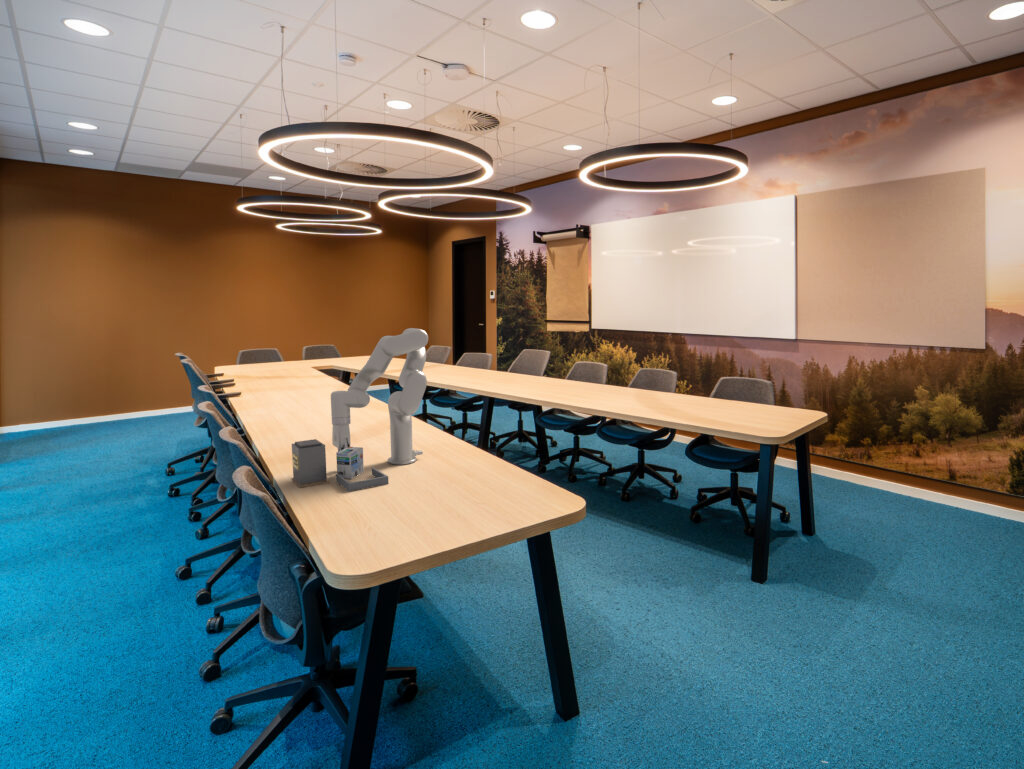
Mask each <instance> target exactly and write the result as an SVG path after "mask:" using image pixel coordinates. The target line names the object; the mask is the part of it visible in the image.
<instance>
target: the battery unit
mask: <svg viewBox="0 0 1024 769" xmlns="http://www.w3.org/2000/svg"><path fill="white" fill-rule="evenodd" d="M326 455H327V454H326V444H324V443H323V442H321V441H319V440H317V439H316V438H314V439H306V440H300V441H294V443H291V458H292V476H293V477H290V478H291V481H292V482H293V483H294V485H296V486H297V487H298V488H299V489H302V488H308V486H309V487H314V486H318V485H324V483H325V484H329V483H330V480H329V479H328V477H327V474H328V473H327V459H326V458H327V457H326Z"/></svg>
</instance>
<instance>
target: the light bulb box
mask: <svg viewBox="0 0 1024 769" xmlns="http://www.w3.org/2000/svg"><path fill="white" fill-rule="evenodd" d="M335 455H336V474H339V475H340V476H341V477H343V478H348V479H347V480H353V479H354V477H355V478H356V477H358V476H360V475H362V474H363V473H364V470H365V469H364V448H363V447H361V446H360V447H359V446H350V447H348V448H345V449H343V450H341V451H339V452H338V451H337V452H336V454H335ZM362 472H363V473H362ZM359 474H360V475H359ZM357 475H358V476H357ZM352 478H353V479H352Z"/></svg>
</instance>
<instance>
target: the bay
mask: <svg viewBox="0 0 1024 769" xmlns="http://www.w3.org/2000/svg"><path fill="white" fill-rule="evenodd" d="M371 476H372V478H369V479H363V480H357V481H352V482H349V480H348V479H344V478H343V477H341V476H340V475H339V474H337V473H336V474H335V482H336V483H337V482H338V483H339V485H340V486H341V485H342V486H343V487H342V486H341V487H342V488H344V489H345V488H346V489H347V490H346V489H345V490H346V491H347V492H353V491H352V490H354V491H358V489H359V490H363V489H362V488H364V489H368V488H367V487H370V488H373V487H372V486H375V487H378V485H380V486H384V485H383V484H385V485H388V484H389V476H388V475H387V474H385V473H384V472H382V471H380V470H378V469H377V468H375V467H371ZM374 476H375V477H374ZM373 477H374V478H373ZM338 483H337V484H338Z"/></svg>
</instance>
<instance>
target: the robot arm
mask: <svg viewBox="0 0 1024 769" xmlns="http://www.w3.org/2000/svg"><path fill="white" fill-rule="evenodd" d="M428 342H429V334H428V333H427V332H426V331H425V330H423V329H421V328H415V327H414V328H413V327H410V328H406V329H404V330H403V331H402V333H401V334H397V335H385V336H382V337H381V338H379V341H378V342H377V344H376V346H375V348H374V349H373V351H372V352H371V355H370V356H369V358H368V360H367V362H366V363H365V365H363V367H362V368H361V369H360V371H359V372H358V373H357V374H356V375H355V377H354V378H353V380H352V381H351V384H350V385H349V387H348V389H347V390H335V391H332V392H331V393H330V410H331V412H330V413H331V425H332V430H331V431H332V432H331V433H332V434H331V435H332V436H331V439H332V440H331V442H332V445H333V446H334V447H336V449H337V452H339V451H341V450H343V449H345V448H348V447H351V431H350V430H351V429H350V425H351V423H352V422H351V409H353V408H354V409H363V408H366V407H367V406H368V405H369V404H370V401H371V399H370V398H371V396H370V395H369V393H368V392H367V391H368V389H369V387H370V386H371V384H372V383H373V382H374V381H376V380H378V379H379V378H381V377H382V376H383V375H384V374H385V372H386V371H387V369H388V367H389V365H390V364H391V362H392V360H393V359H394V357H398V356H402V355H406V358H405V361H404V364H403V367H402V369H401V371H400V374H399V377H398V384H399V385H400V387H401V388H402V390H399V391H398V390H397V391H394V392H392V393H391V394H390V396H389V398H388V400H387V405H388V406H387V407H388V412H389V414H388V415H389V421H390V422H389V424H390V425H389V429H390V431H389V433H390V457H388V458H387V463H388V464H391V465H409V464H413V463H415V462H416V461H417V456H420V455H423V454H424V452H423V450H422V449H420V450H414V449H413V420H412V415H414V414H415V413H416V412H417V411H418V409H419V407H420V405H421V403H422V399H423V397H424V394H425V392H426V389H427V384H428V382H427V381H428V379H427V376H426V373H424V372H423V371H424V367H425V364H426V361H427V351H426V350H427V349H426V346H427V345H428Z"/></svg>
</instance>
